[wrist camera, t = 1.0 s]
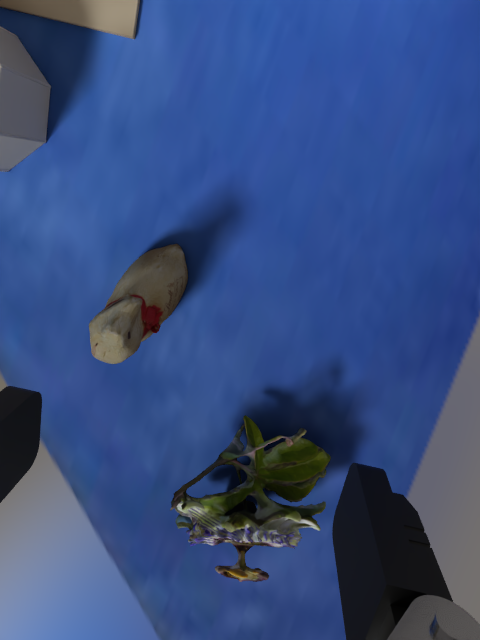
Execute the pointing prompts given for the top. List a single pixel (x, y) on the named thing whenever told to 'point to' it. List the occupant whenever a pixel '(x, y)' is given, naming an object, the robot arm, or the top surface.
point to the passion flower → (242, 516)
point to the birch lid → (84, 13)
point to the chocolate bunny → (139, 304)
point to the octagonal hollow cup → (20, 102)
